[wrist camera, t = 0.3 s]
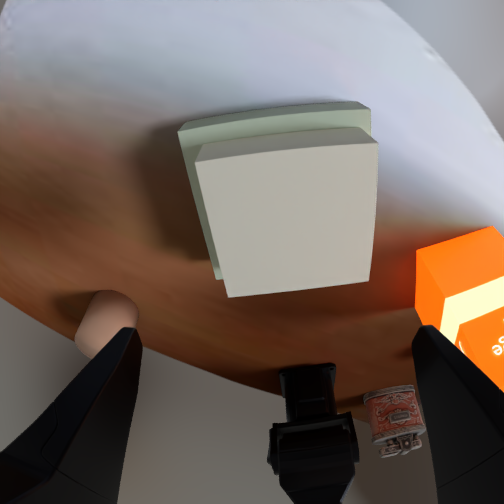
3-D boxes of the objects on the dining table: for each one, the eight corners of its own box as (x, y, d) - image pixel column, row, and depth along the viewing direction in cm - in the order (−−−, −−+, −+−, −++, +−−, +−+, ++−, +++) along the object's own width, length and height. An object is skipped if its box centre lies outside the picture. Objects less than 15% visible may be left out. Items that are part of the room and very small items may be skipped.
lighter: (416, 382, 39) (434, 442, 31) (408, 393, 41) (424, 450, 33) (366, 391, 39) (379, 455, 31) (360, 401, 41) (372, 462, 33)
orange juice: (415, 249, 25) (518, 472, 9) (493, 224, 23) (610, 401, 7) (414, 308, 29) (478, 493, 13) (483, 283, 27) (562, 442, 11)
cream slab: (357, 252, 22) (368, 281, 19) (230, 267, 23) (228, 297, 20) (360, 127, 17) (378, 143, 14) (203, 144, 17) (194, 162, 15)
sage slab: (355, 238, 25) (366, 261, 22) (219, 254, 26) (216, 279, 23) (355, 100, 18) (370, 109, 16) (187, 120, 19) (177, 131, 17)
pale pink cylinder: (146, 324, 30) (135, 365, 26) (105, 326, 31) (91, 364, 27) (127, 287, 27) (111, 329, 23) (83, 291, 28) (65, 330, 24)
